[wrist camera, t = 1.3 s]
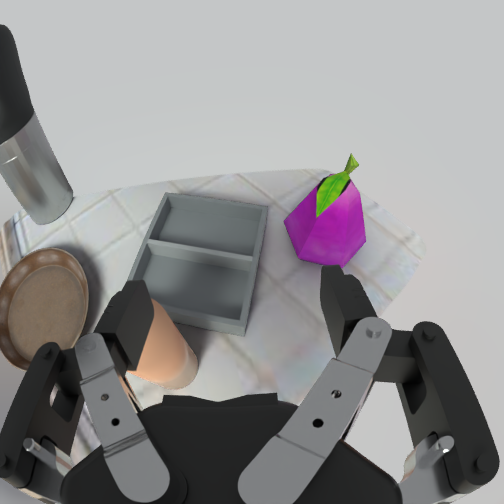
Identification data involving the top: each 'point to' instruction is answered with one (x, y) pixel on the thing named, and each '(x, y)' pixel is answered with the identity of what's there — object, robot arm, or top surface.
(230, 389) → the top surface
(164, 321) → the peach pillar candle
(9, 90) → the robot arm
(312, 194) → the pear
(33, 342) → the object
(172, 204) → the divided storage tray
